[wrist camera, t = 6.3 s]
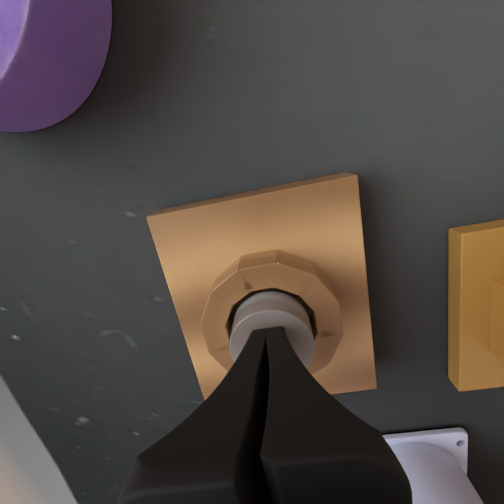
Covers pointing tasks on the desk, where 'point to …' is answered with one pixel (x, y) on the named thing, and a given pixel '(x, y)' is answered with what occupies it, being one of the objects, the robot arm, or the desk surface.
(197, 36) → the desk surface
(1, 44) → the tape roll
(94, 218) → the desk surface
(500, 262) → the bracket
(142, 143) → the desk surface
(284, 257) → the button housing
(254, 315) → the button
